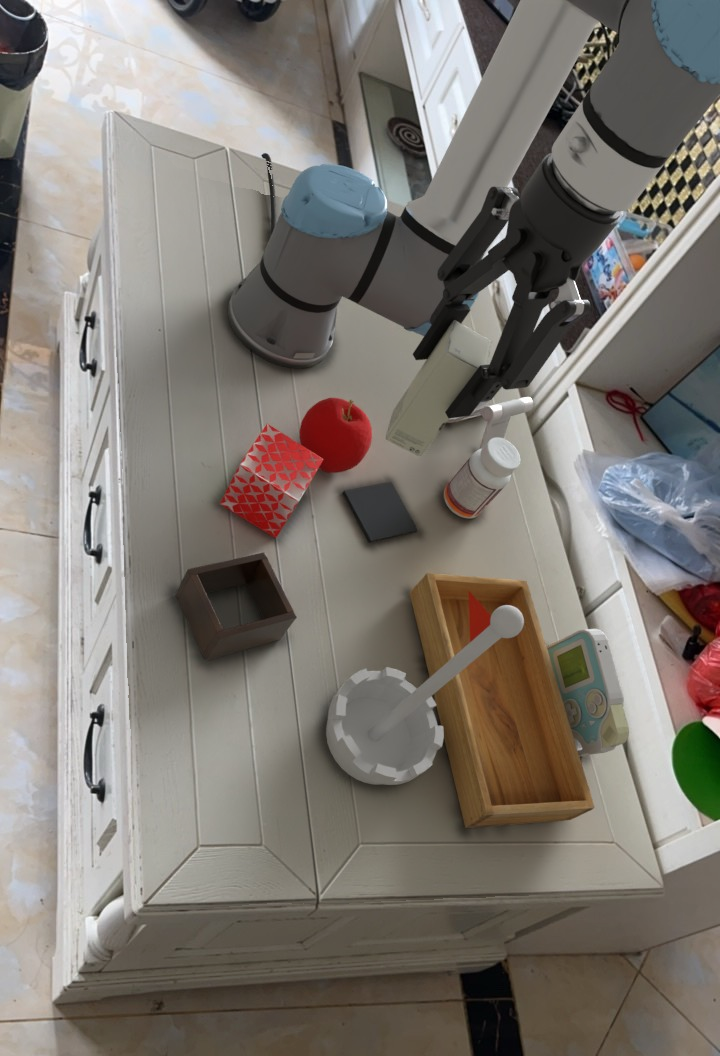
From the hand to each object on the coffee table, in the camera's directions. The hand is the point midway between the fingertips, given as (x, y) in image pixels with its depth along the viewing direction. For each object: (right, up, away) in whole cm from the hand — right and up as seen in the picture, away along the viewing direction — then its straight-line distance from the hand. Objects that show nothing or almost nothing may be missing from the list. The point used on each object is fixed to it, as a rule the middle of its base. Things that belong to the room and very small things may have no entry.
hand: (441, 384), depth 85 cm
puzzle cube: (-20, -8, +24) cm, 32 cm away
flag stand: (-7, -36, +15) cm, 40 cm away
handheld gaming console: (+18, -34, +29) cm, 48 cm away
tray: (+8, -33, +24) cm, 41 cm away
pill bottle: (+6, -5, +39) cm, 40 cm away
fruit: (-13, 0, +32) cm, 34 cm away
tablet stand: (+9, +7, +47) cm, 49 cm away
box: (-3, -3, +6) cm, 8 cm away
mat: (-5, -8, +31) cm, 33 cm away
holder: (-23, -22, +14) cm, 35 cm away
